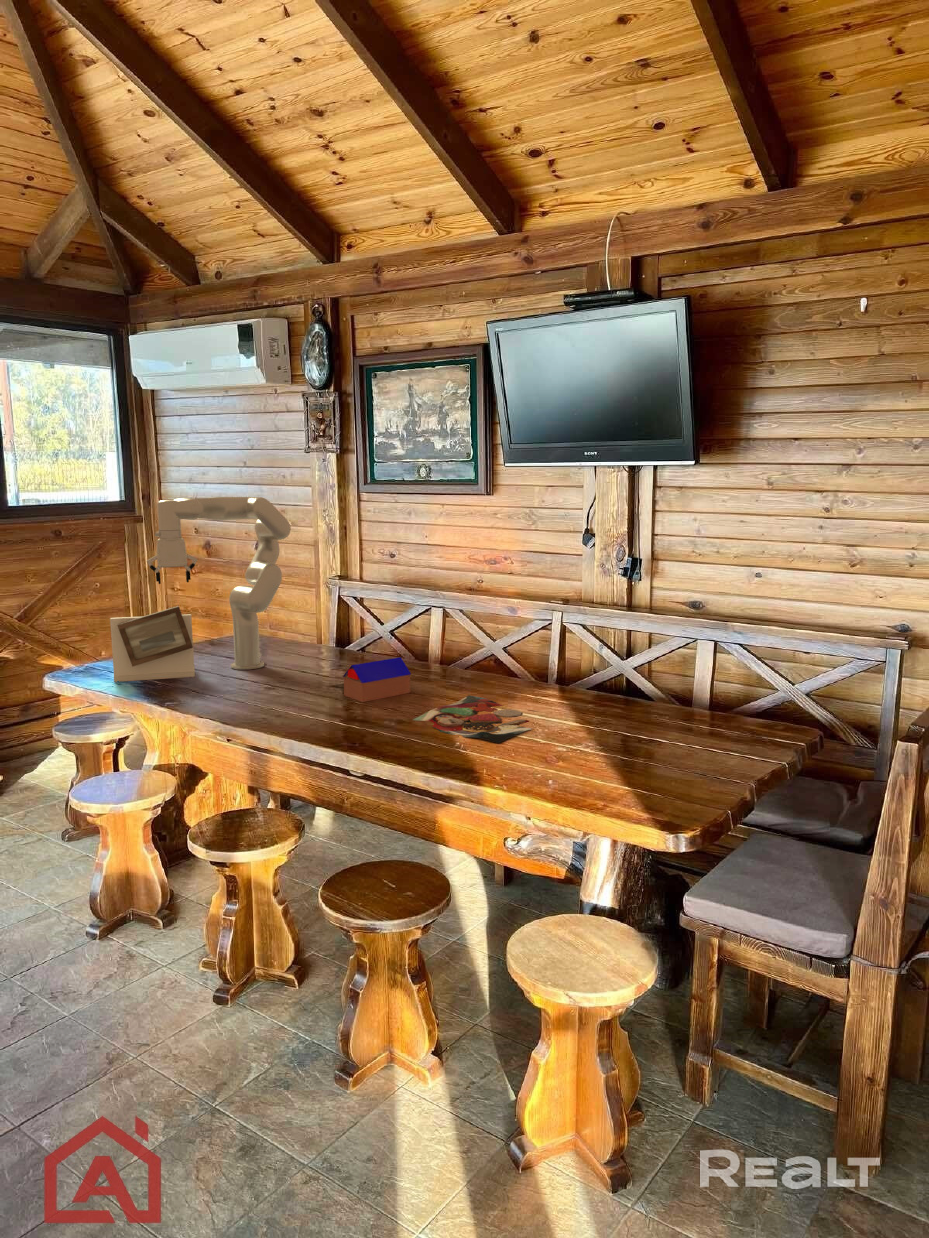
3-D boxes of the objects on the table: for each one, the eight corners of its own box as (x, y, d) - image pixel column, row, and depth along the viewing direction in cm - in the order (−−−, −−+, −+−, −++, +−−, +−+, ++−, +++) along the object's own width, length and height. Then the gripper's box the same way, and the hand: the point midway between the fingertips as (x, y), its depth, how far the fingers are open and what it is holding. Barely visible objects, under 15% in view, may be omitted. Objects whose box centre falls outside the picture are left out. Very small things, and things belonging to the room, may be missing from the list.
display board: (116, 677, 338) (111, 615, 335) (194, 672, 346) (191, 612, 342) (114, 681, 331) (109, 619, 327) (194, 676, 338) (191, 615, 334)
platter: (400, 726, 274) (400, 720, 274) (469, 701, 303) (469, 695, 303) (498, 746, 254) (498, 739, 253) (562, 717, 282) (562, 711, 282)
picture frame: (132, 665, 332) (117, 624, 328) (192, 646, 337) (178, 605, 333) (132, 666, 330) (117, 625, 326) (192, 647, 334) (178, 606, 331)
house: (411, 693, 313) (411, 659, 311) (362, 702, 300) (361, 668, 298) (391, 686, 322) (390, 654, 320) (342, 696, 309) (342, 662, 307)
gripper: (144, 536, 319) (148, 585, 322) (196, 534, 324) (199, 582, 327) (144, 535, 326) (148, 582, 328) (195, 533, 331) (198, 580, 334)
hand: (173, 582), depth 328 cm, fingers open, 9 cm apart
